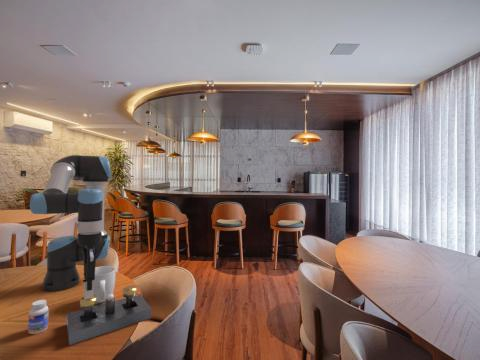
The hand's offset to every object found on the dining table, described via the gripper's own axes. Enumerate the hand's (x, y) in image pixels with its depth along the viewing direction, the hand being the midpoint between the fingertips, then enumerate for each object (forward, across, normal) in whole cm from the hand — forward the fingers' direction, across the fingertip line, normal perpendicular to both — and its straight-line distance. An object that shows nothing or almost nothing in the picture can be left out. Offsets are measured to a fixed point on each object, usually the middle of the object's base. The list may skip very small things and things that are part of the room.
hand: (88, 297), depth 88 cm
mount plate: (+11, 0, +7) cm, 13 cm away
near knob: (+7, 0, 0) cm, 7 cm away
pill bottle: (+11, -9, -14) cm, 20 cm away
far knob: (+7, 0, +14) cm, 16 cm away
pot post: (+7, 0, +7) cm, 10 cm away
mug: (+11, -19, +7) cm, 23 cm away
